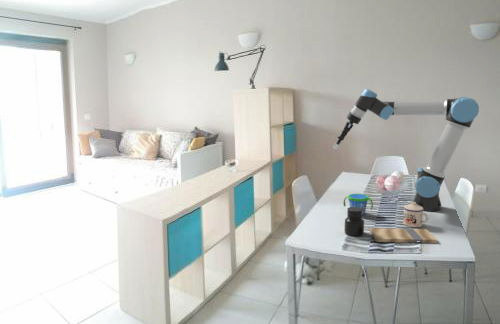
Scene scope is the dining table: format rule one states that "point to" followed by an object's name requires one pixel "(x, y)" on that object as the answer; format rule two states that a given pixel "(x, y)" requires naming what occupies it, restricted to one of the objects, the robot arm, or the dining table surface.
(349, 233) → the ink bottle
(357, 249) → the dining table surface
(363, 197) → the snack cup
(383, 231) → the plywood board
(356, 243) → the dining table surface
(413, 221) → the teacup with lid
